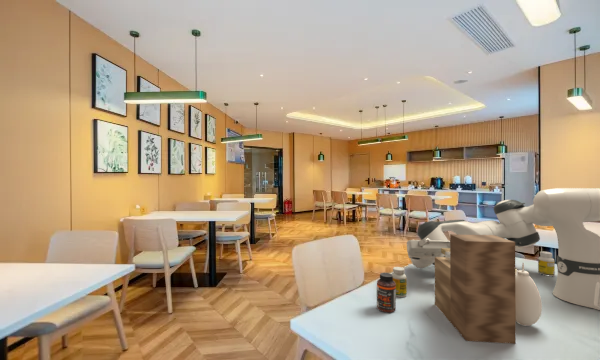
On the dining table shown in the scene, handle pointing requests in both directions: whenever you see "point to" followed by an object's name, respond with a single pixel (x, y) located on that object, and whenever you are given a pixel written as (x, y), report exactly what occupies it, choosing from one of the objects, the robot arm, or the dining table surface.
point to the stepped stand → (478, 287)
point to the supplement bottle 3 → (546, 264)
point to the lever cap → (446, 253)
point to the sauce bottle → (527, 299)
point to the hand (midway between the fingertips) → (440, 240)
